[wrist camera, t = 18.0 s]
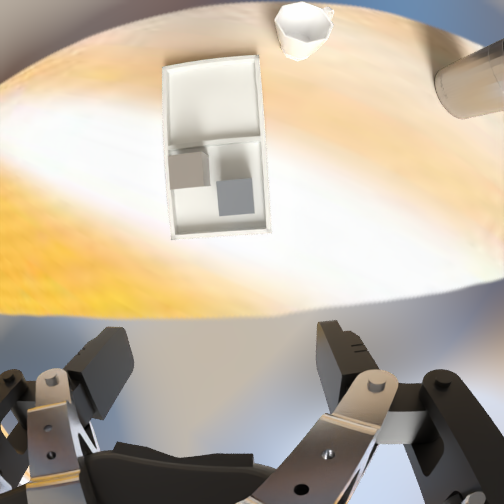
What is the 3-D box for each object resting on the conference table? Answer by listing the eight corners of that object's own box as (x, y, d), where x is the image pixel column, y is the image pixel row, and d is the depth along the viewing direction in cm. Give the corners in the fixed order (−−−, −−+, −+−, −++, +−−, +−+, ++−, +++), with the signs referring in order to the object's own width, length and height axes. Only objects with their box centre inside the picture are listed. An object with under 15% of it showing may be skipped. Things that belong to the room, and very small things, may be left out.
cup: (260, 47, 32) (261, 19, 25) (307, 13, 31) (316, -16, 23) (298, 78, 33) (307, 54, 26) (342, 42, 32) (359, 16, 24)
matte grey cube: (252, 178, 36) (251, 178, 31) (254, 209, 37) (254, 213, 32) (221, 181, 36) (216, 181, 32) (223, 212, 37) (219, 216, 32)
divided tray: (258, 60, 33) (258, 54, 31) (270, 230, 38) (271, 233, 36) (166, 71, 33) (162, 66, 31) (175, 237, 39) (171, 240, 37)
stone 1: (208, 155, 36) (201, 151, 31) (210, 186, 37) (203, 186, 32) (178, 159, 36) (167, 155, 31) (181, 189, 37) (170, 189, 32)
